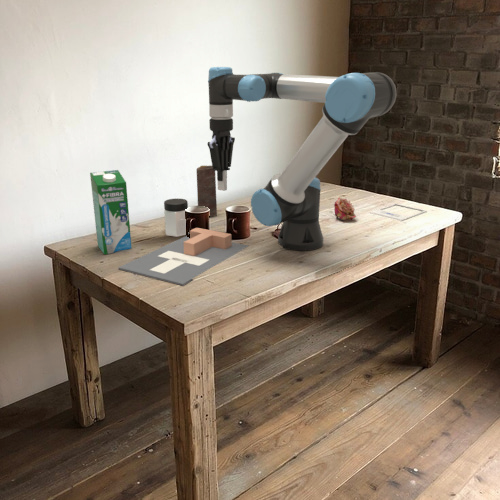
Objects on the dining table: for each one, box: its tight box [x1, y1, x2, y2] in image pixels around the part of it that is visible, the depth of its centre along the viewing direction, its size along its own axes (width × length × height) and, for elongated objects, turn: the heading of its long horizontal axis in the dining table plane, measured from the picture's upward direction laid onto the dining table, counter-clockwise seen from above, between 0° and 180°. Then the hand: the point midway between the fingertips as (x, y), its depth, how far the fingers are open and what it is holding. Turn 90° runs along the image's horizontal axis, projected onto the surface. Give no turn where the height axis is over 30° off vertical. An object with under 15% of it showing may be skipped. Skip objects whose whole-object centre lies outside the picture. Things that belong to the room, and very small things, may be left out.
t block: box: [183, 227, 233, 256], centre depth 176 cm, size 14×14×4 cm
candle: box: [196, 165, 218, 218], centre depth 209 cm, size 8×7×20 cm
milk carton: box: [89, 169, 132, 255], centre depth 175 cm, size 9×9×25 cm
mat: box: [118, 235, 250, 287], centre depth 170 cm, size 24×36×1 cm, turn 150°
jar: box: [163, 198, 189, 237], centre depth 190 cm, size 9×8×12 cm
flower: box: [333, 197, 357, 223], centre depth 207 cm, size 10×9×8 cm
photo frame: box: [369, 203, 428, 222], centre depth 217 cm, size 15×1×18 cm
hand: (222, 189), depth 182 cm, fingers closed
